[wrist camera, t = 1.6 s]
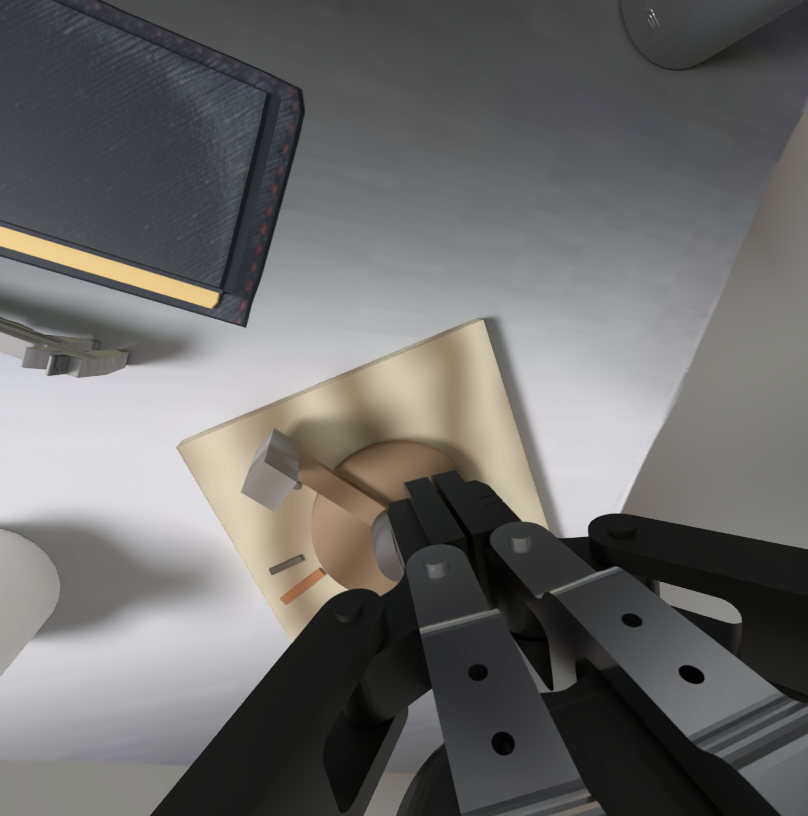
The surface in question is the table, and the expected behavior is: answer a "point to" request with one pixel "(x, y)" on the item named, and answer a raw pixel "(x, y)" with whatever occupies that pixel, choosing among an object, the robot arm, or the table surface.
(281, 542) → the dial board
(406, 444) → the dial
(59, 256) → the dark grey flat block
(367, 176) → the table surface
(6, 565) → the cylinder with rectangular tab
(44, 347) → the caliper
